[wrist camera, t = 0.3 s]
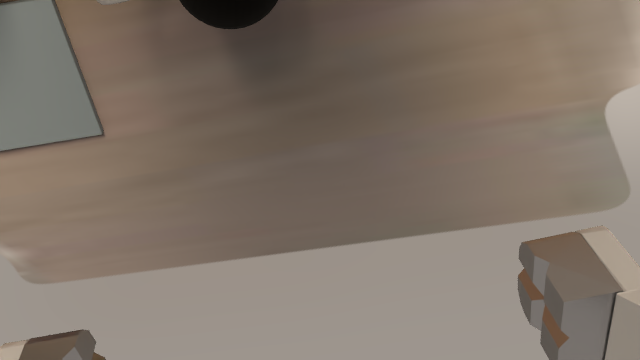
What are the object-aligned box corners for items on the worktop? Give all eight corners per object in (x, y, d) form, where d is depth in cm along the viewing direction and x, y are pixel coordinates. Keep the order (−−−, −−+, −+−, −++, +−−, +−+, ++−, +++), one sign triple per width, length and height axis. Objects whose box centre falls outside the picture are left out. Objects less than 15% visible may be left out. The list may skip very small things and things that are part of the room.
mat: (-83, 16, 53) (-87, 19, 52) (52, -5, 53) (50, -3, 53) (-14, 149, 61) (-17, 153, 60) (103, 130, 61) (102, 134, 60)
